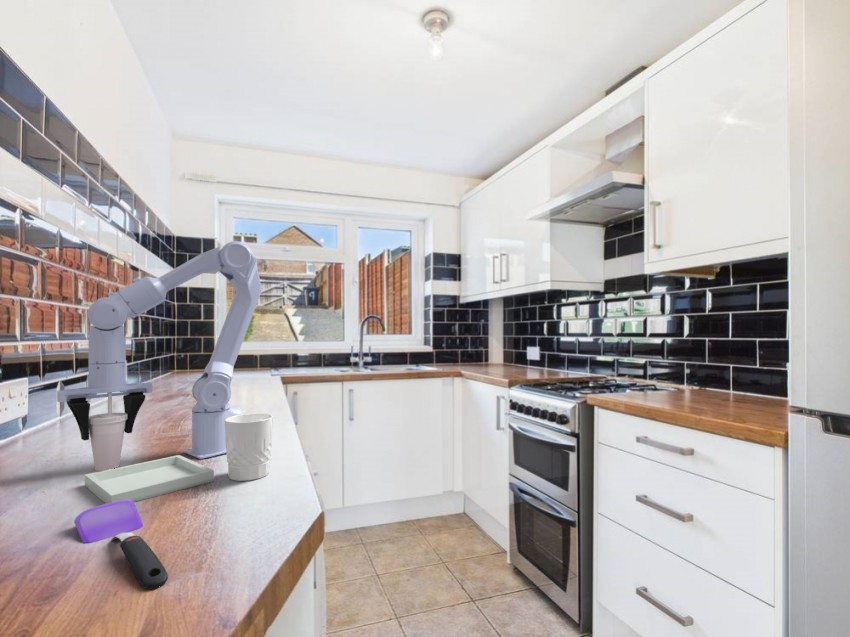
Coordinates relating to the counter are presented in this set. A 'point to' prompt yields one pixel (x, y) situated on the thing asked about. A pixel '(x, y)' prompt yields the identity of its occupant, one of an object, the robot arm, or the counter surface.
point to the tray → (147, 479)
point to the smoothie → (107, 437)
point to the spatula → (123, 538)
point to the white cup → (248, 446)
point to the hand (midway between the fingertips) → (107, 435)
